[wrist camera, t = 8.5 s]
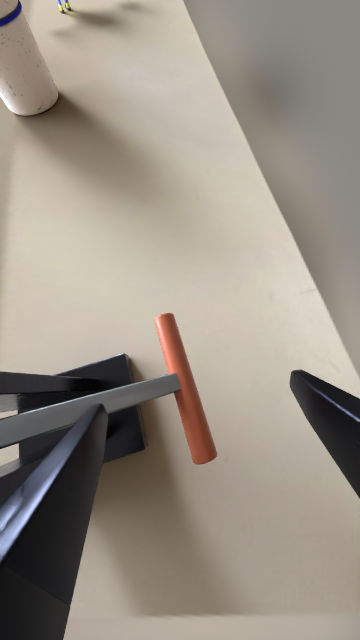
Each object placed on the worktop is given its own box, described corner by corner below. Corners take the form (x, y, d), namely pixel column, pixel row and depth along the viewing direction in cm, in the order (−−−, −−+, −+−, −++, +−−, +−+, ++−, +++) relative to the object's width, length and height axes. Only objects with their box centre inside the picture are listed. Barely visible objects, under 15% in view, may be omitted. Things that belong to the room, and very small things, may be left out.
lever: (166, 322, 16) (179, 308, 14) (204, 451, 13) (227, 455, 11) (-100, 352, 9) (-146, 332, 7) (-144, 642, 6) (-244, 746, 4)
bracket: (128, 354, 20) (16, 298, 7) (148, 445, 17) (28, 614, 4) (26, 386, 19) (-294, 387, 6) (31, 484, 17) (-478, 798, 4)
